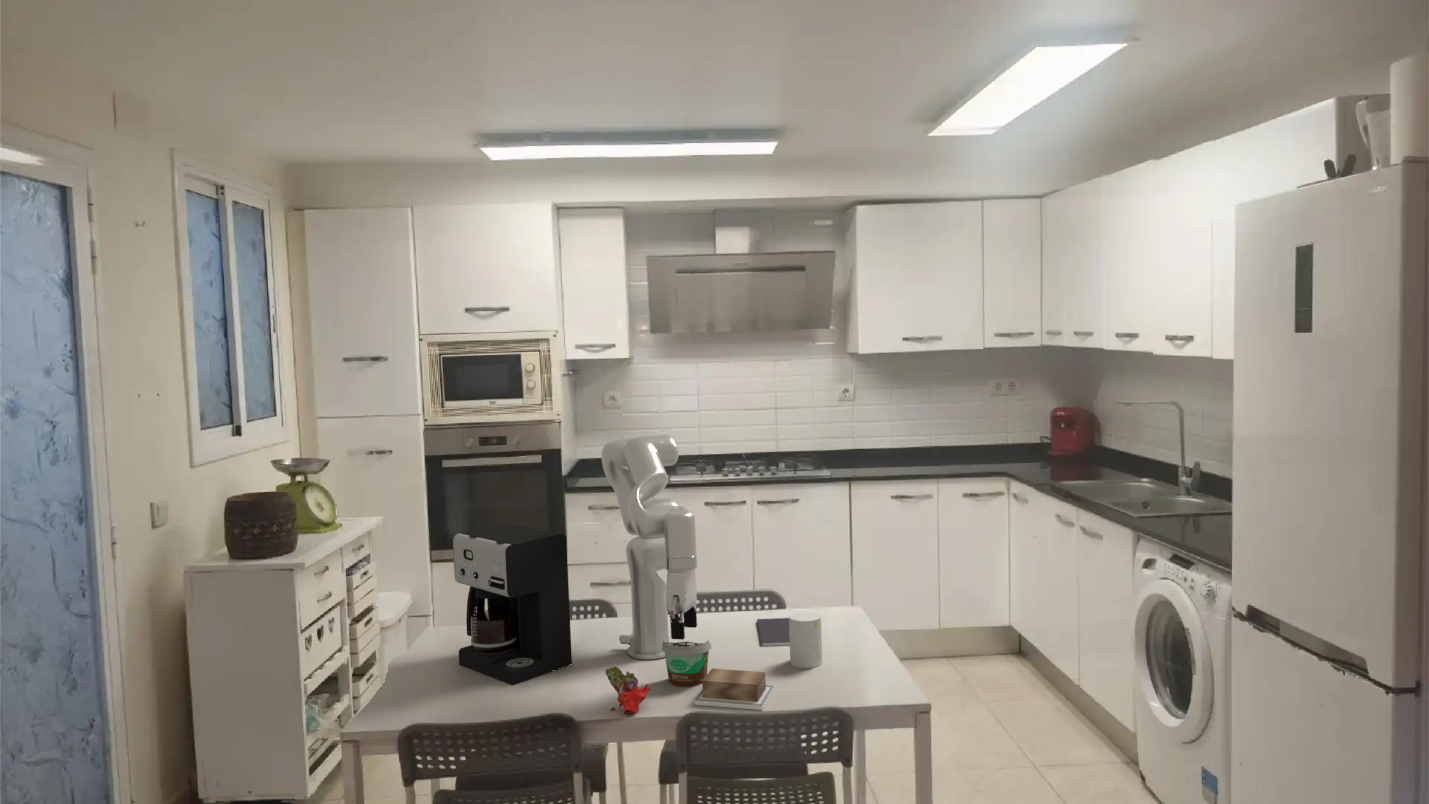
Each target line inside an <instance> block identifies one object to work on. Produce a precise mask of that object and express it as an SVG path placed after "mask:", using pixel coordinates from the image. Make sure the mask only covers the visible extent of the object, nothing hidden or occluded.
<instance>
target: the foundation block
mask: <svg viewBox="0 0 1429 804" xmlns="http://www.w3.org/2000/svg"><path fill="white" fill-rule="evenodd" d="M766 681H767V680H766V672H765V671H756V670H755V671H754V670H738V669H727V668H713V667H712V668H711V669H710V670H709V671H708V672H707V675H706V677H705V678H704V679H703V680H702V684H701V685H702V689H703V698H715V699H728V700H740V701H753V702H758V701H759V699H760V698H761V696H762V694H763V693H764V691H765V689H766V685H767V684H766Z"/></svg>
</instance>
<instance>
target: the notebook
mask: <svg viewBox="0 0 1429 804" xmlns="http://www.w3.org/2000/svg"><path fill="white" fill-rule="evenodd" d="M756 624H757V628H758V634H759V638H760V639H759V640H760V645H761V647H769V646H770V647H772V646H773V647H775V646H790V634H789V617H783V618H782V617H778V618H757V619H756Z"/></svg>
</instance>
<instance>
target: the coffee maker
mask: <svg viewBox="0 0 1429 804" xmlns="http://www.w3.org/2000/svg"><path fill="white" fill-rule="evenodd" d="M567 545H568V544H567V536H566V535H565V534H564V533H560V532H556V531H550V530H545V529H539V528H534V527H529V526H525V525H520V524H515V523H513V524H512V523H501V524H498V525H492V526H490V527H489V526H488V527H483V528H478V529H475V530H474V529H473V530H467V531H463V532H462V531H461V532H458V533H456V534H455V535H454V536H453V538H452V549H453V550H452V551H453V570H454V580H455V581H456V582H457V583H458V584H461V585H465V586H469V590H468V595H467V602H466V616H465V617H466V620H465V621H466V623H465V624H466V636H468V637H471V639H470V645H467V646H463V647H461V648H460V649H459V650H458V662H459V663H458V664H459V666H462V667H464V668H466V669H469V670H471V671H474V672H477V673H480V674H483V675H484V676H486V677H487V676H488V677H490V678H492V679H495V680H498V681H500V682H502V683H505V684H508V685H511V686H515V685H518V684H521V683H525V682H526V681H529V680H530V681H531V680H533V679H535V678H539V677H541V676H543V675H547V674H550V673H552V671H553V670H556V671H558V670H560V669H559V668H561V669H563V668H562V667H564V668H566V666H567V667H569V666H568V665H570V664H572V665H573V657H572V656H573V655H572V653H573V652H572V636H571V635H572V633H571V611H570V589H569V569H568V568H569V567H568V546H567ZM486 601H487V602H486ZM486 603H487V604H486ZM486 605H487V609H486V607H485V606H486ZM570 666H571V665H570ZM553 672H554V671H553ZM546 673H547V674H546Z"/></svg>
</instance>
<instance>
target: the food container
mask: <svg viewBox="0 0 1429 804" xmlns="http://www.w3.org/2000/svg"><path fill="white" fill-rule="evenodd" d="M710 650H712V644H711V642H710V640H709V639H708V640H707V641H706V642H703V643H701V642H700V643H699V642H691V641H680V642H679V641H678V642H670V643H666V642H665V640H664V641H663V643H662V651H663V652H665V657H664V658H665V664H666V670H667V671H666V672H667V677H668V682H669V684H671V685H672V684H673V686H676V687H684V688H687V687H697V686H699V685H702V680H703V679H704V678H705V677H706V675H707V674H708V665H709V664H708V663H709V652H710Z"/></svg>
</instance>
